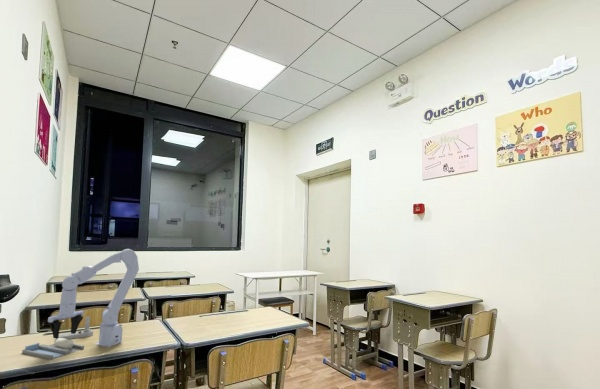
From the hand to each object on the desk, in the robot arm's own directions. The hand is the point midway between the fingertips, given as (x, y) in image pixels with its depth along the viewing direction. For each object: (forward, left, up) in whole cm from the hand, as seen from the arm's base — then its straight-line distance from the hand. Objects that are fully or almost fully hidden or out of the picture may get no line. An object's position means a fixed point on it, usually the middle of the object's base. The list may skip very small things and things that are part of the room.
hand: (64, 335), depth 146 cm
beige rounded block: (0, 0, -6) cm, 6 cm away
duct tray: (+1, +3, -6) cm, 7 cm away
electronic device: (+12, -14, -7) cm, 19 cm away
